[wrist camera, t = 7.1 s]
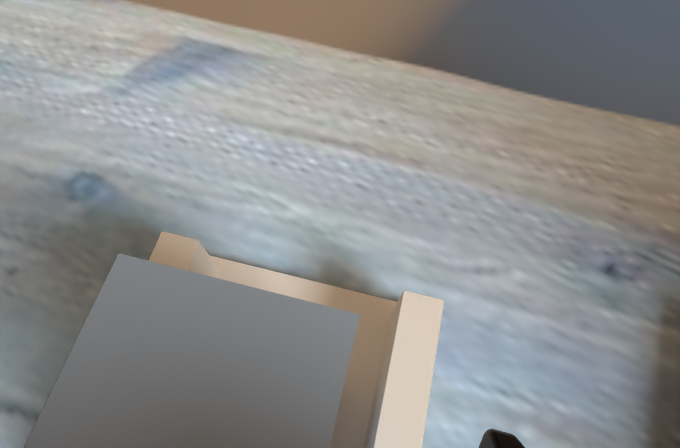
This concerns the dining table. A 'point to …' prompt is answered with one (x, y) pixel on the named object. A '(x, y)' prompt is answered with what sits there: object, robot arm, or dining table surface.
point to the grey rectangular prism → (198, 366)
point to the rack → (368, 349)
